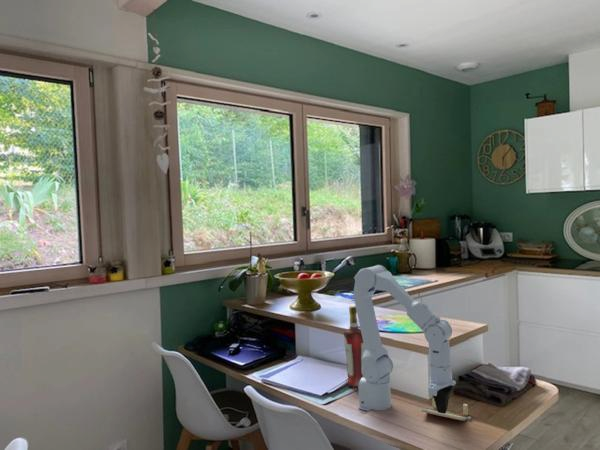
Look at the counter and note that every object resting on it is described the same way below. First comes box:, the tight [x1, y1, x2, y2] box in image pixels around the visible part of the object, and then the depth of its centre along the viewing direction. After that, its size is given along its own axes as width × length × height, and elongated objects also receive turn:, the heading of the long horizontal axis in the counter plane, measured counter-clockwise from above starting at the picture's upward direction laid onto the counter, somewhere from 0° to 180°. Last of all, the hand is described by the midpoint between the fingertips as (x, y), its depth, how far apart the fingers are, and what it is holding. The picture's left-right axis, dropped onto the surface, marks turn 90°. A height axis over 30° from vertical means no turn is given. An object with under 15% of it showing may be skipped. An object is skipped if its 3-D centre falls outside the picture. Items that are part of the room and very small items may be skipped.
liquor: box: [343, 305, 365, 389], centre depth 158 cm, size 7×7×28 cm
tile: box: [420, 408, 467, 422], centre depth 127 cm, size 11×6×1 cm, turn 54°
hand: (442, 412), depth 126 cm, fingers closed
